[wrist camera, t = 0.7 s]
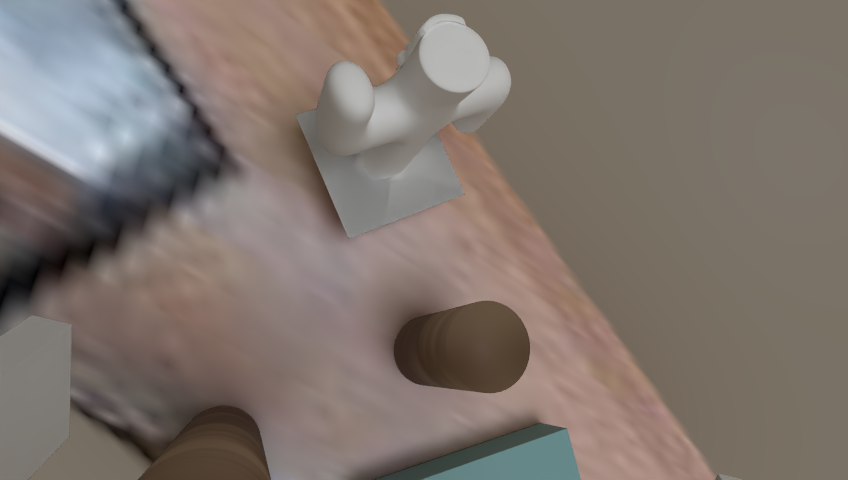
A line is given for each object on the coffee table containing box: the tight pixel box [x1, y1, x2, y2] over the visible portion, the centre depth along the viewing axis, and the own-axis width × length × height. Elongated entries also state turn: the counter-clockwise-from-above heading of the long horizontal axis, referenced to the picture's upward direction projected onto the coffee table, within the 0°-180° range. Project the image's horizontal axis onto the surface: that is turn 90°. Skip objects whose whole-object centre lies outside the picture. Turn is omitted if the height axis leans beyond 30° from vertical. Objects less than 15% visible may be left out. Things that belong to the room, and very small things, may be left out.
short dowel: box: [394, 301, 530, 393], centre depth 29 cm, size 4×4×9 cm
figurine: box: [296, 14, 511, 239], centre depth 27 cm, size 7×9×15 cm
